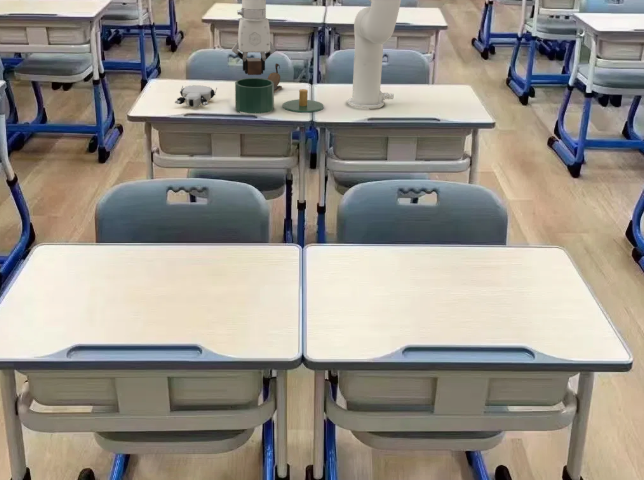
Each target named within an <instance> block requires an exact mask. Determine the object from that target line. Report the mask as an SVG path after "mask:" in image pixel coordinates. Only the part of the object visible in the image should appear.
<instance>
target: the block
mask: <svg viewBox="0 0 644 480" xmlns="http://www.w3.org/2000/svg"><path fill="white" fill-rule="evenodd" d="M260 59H261V57H247V62H248V73H247V74H246V75H248V76H261V75H262V74H261V60H260Z"/></svg>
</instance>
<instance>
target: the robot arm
mask: <svg viewBox="0 0 644 480" xmlns="http://www.w3.org/2000/svg"><path fill="white" fill-rule="evenodd" d="M368 1H369V2H370V6H366V7H363V8H362V9H360V10H359V11H358V12H357V13H356V16H355V18H354V22H353V33H354V54H353V55H354V57H353V73H352V94H351V97H349V98H347V100H346V103H347V104H348V105H350V106H352V107H355V108H361V109H368V110H375V109H379V108H382V107H383V106H384V105H385V100H394V93H389V92H382V90H381V86H382V73H383V72H382V70H383V59H384V58H383V57H384V43H387V42H388V41H389V40H390V39H391V38H392V36H393V34H394V31H395V29H396V25H397V20H398V16H399V12H400V7H401V3H402V0H368ZM236 11H237V12H236V13H237V15H239V16H241V17H240V18H239V21H238V30H237V41H236V42H235V44H234V45H233V47H232V48H231V51H232V53H234V54H235V55H236V56H237V57H239V58H240V59H241V60H242V71H243V72H244V73H245V75H248V74H247V73H248V62H247V58H248V54H249V53H260V60H261V75H263V74H264V72H265V71H266V61H267V59H268V58H269V57H270V56H271V55H273V54H274V53H276V52H277V49H276V48H275V46H274V44H273V43H272V42H271V31H270V30H271V29H270V28H271V27H270V21H269V19H268V18H267V0H241V9H237V10H236Z"/></svg>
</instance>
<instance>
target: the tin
mask: <svg viewBox="0 0 644 480" xmlns="http://www.w3.org/2000/svg"><path fill="white" fill-rule="evenodd" d="M234 100H235V111H236V112H237V113H238V114H241V113H243V114H252V115H254V114H255V115H257V114H258V115H259V114H261V115H262V114H267V113H270V112H272V111H273V110H274V109H275V93H274V83H273V81H271V80H268V78H260V77H246V78H240V79H237V80H236V81H235V82H234Z"/></svg>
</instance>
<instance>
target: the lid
mask: <svg viewBox="0 0 644 480" xmlns="http://www.w3.org/2000/svg"><path fill="white" fill-rule="evenodd" d="M298 91H299V92H298V99H291V100H287V101H284V102H282V108H283V110H286V111H288V112H294V113H299V114H300V113H301V114H305V113H306V114H307V113H316V112H320V111H322V110H323V109H324V104H323V103H322V102H320V101H317V100H313V99H308V95H309V92H308V91H309V90H308V89H306V88H301V89H299V90H298Z"/></svg>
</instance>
